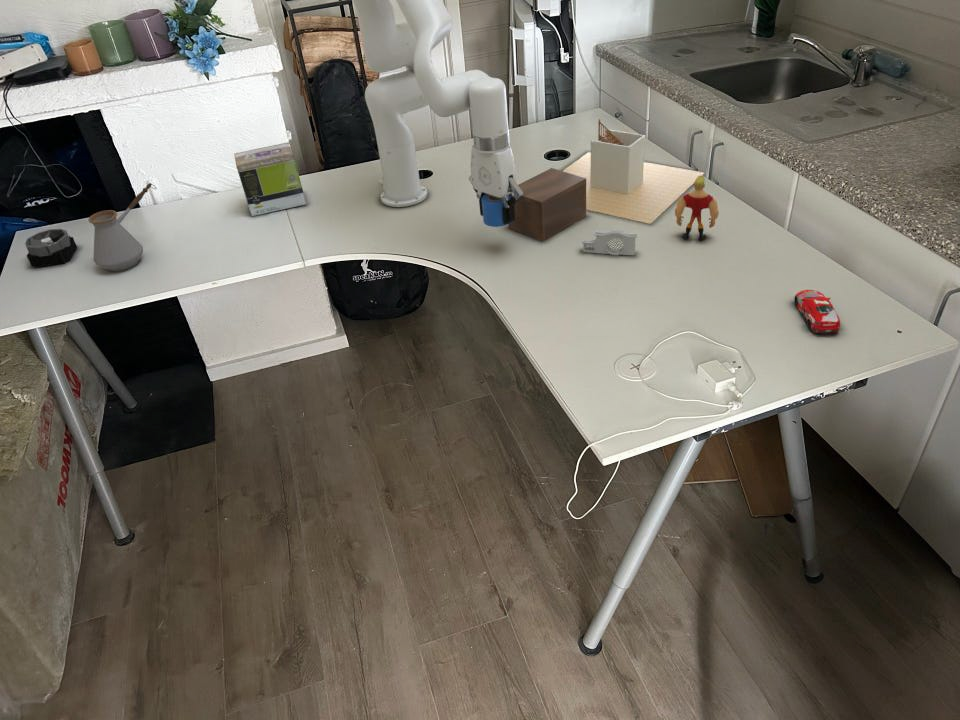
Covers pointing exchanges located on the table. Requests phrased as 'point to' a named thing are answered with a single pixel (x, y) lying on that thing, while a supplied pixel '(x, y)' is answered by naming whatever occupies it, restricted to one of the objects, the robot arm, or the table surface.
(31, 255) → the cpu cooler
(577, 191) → the brown boxy piece
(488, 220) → the tape
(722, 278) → the table surface
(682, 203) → the action figure
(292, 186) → the tea box
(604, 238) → the lattice window wall
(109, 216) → the coffee pot
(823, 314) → the race car
